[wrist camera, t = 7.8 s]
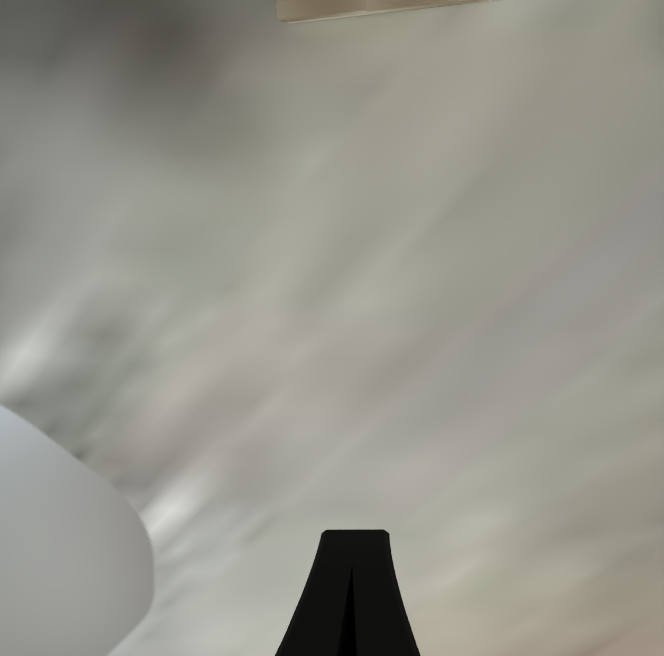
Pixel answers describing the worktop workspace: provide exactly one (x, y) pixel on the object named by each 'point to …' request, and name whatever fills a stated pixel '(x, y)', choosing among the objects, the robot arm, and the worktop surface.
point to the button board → (351, 8)
